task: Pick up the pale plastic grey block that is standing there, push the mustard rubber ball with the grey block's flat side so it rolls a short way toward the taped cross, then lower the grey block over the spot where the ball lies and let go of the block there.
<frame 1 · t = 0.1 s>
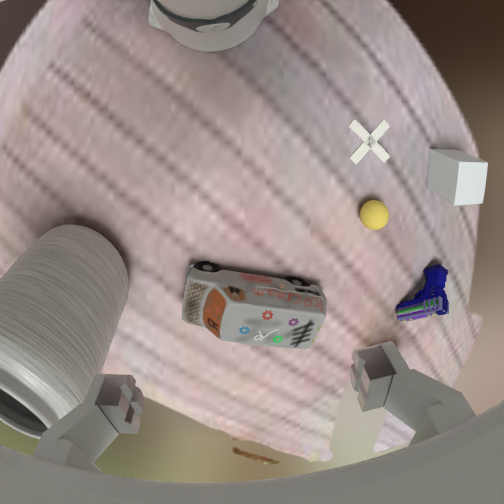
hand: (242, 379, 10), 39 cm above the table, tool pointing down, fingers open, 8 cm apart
toy car: (251, 291, 57), on the table
grey block: (442, 168, 46), on the table
vase: (88, 261, 51), on the table
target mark: (369, 141, 44), on the table
ball: (374, 215, 48), on the table
toy gun: (415, 287, 60), on the table
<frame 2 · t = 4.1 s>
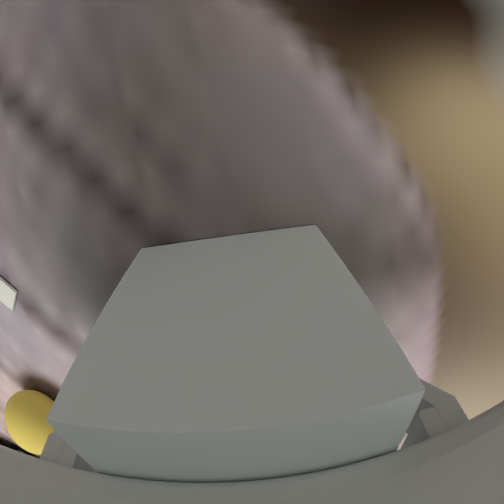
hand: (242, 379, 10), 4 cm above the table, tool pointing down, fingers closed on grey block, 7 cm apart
grey block: (238, 310, 14), on the table, touching gripper
ball: (34, 422, 14), on the table
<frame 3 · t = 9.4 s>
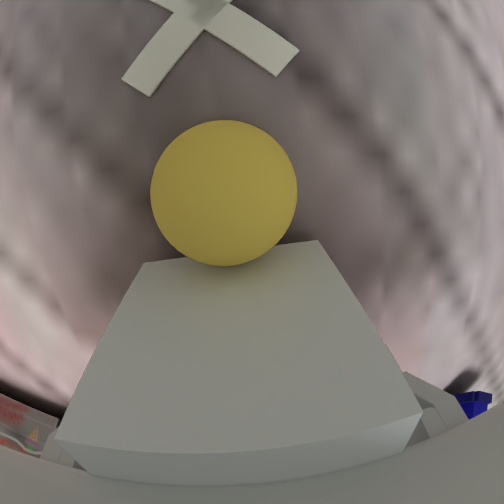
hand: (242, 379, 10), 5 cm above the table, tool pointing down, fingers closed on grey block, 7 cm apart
toy car: (34, 416, 20), on the table
grey block: (241, 324, 14), point 1 cm above the table, touching gripper
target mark: (201, 8, 9), on the table
ball: (223, 192, 10), on the table
toy gun: (413, 425, 22), on the table
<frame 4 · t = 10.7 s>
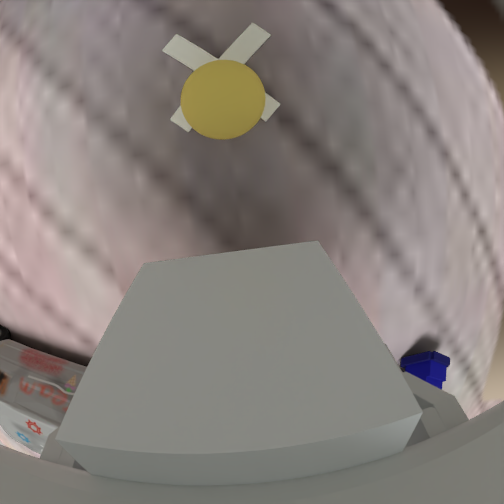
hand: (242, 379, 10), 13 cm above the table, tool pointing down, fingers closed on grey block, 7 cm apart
toy car: (65, 375, 28), on the table
grey block: (241, 324, 14), point 9 cm above the table, touching gripper
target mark: (220, 74, 18), on the table
ball: (222, 99, 16), on the table
toy gun: (385, 386, 30), on the table
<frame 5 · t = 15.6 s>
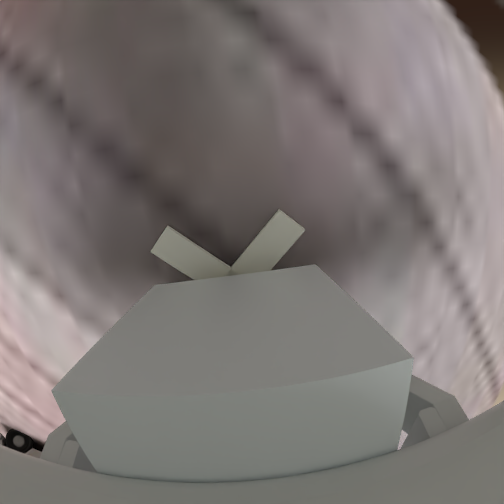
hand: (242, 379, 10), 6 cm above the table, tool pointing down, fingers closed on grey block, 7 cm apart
toy car: (90, 469, 27), on the table
grey block: (245, 348, 14), point 2 cm above the table, tilted 15°, touching gripper
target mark: (234, 286, 15), on the table
when the fingers open (5 cm above the table, at t = 16.6 s): grey block drops 1 cm, on the table.
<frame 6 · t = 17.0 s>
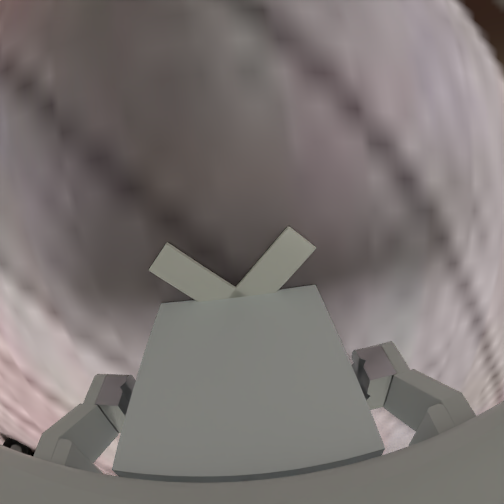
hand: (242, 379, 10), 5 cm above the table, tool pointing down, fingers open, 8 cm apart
grey block: (246, 352, 16), on the table
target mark: (239, 307, 14), on the table
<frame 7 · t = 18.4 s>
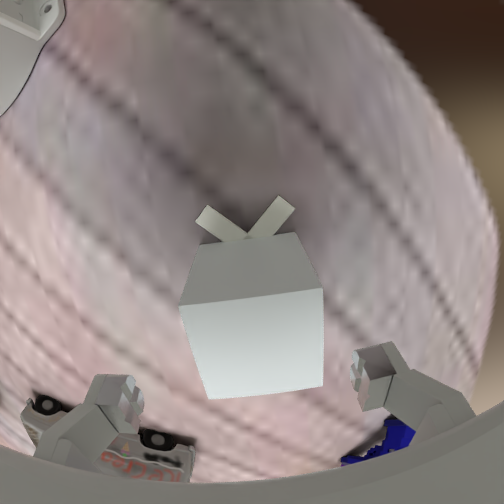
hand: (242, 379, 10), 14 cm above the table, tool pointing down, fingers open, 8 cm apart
toy car: (111, 433, 34), on the table
grey block: (253, 281, 25), on the table
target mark: (249, 246, 23), on the table
toy gun: (372, 436, 36), on the table
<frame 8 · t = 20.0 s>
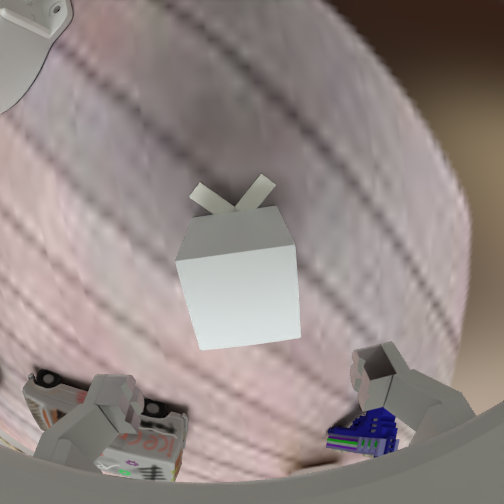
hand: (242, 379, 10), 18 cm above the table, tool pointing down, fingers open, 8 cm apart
toy car: (108, 405, 38), on the table
grey block: (240, 249, 28), on the table
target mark: (236, 219, 27), on the table
toy gun: (357, 408, 40), on the table
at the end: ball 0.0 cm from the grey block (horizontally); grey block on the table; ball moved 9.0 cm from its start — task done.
